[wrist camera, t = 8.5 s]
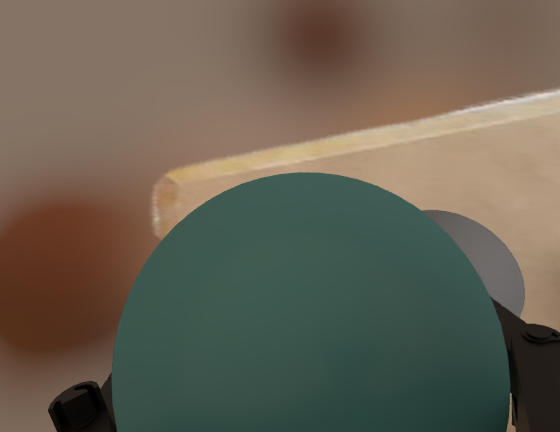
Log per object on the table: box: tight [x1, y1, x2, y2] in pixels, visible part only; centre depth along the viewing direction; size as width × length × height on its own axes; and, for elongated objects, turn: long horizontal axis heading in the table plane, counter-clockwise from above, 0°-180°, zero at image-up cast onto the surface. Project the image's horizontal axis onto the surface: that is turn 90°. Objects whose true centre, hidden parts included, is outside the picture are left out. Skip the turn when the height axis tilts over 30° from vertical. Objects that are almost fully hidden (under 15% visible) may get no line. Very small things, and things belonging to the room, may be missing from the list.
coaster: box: [422, 210, 525, 317], centre depth 33 cm, size 14×14×1 cm
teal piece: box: [111, 173, 510, 432], centre depth 13 cm, size 10×10×11 cm
